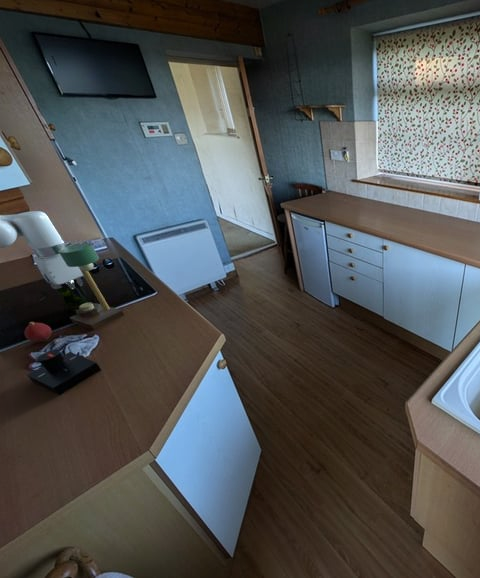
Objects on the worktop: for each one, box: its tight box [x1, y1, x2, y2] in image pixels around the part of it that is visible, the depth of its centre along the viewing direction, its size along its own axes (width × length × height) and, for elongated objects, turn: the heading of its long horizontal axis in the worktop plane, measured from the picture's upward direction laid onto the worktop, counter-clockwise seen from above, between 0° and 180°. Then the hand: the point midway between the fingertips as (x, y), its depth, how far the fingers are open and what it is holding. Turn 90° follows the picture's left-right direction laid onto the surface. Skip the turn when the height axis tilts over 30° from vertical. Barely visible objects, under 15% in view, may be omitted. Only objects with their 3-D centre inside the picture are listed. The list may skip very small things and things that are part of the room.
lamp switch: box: [80, 301, 94, 311], centre depth 109 cm, size 4×4×2 cm
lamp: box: [58, 242, 110, 311], centre depth 101 cm, size 8×8×25 cm
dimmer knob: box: [37, 349, 68, 372], centre depth 83 cm, size 4×4×5 cm
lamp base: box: [69, 302, 125, 331], centre depth 109 cm, size 13×10×4 cm
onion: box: [24, 321, 53, 343], centre depth 97 cm, size 6×6×8 cm
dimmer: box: [26, 351, 102, 396], centre depth 85 cm, size 13×10×3 cm
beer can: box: [56, 280, 88, 312], centre depth 113 cm, size 5×5×12 cm
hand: (81, 296), depth 106 cm, fingers closed
